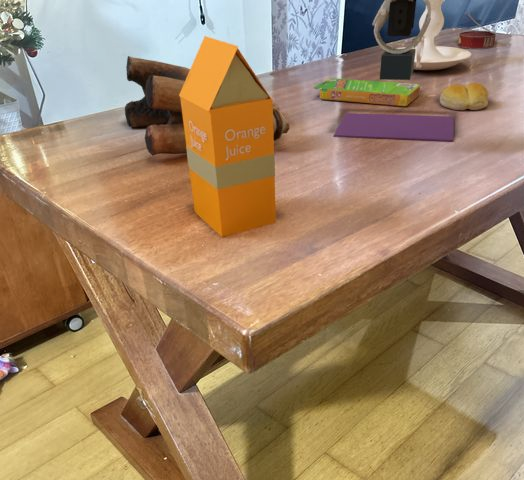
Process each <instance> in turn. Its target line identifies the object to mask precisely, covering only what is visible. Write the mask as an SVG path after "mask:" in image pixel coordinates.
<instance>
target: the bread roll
mask: <svg viewBox="0 0 524 480" xmlns="http://www.w3.org/2000/svg"><path fill="white" fill-rule="evenodd" d="M488 101H489V91H488V89H487V88H486V86H484V85H483V84H481V83H478V82H472V83H468V84H466V85H465V86H464V85H462V84H458V83H455V84H451V85H449V86H447V87H446V88H445V89H443V90H442V91H441V94H440V97H439V103H440V105H441V106H443V107H444V108H446V109H450V110H454V111H466V110H467V109H468V110H470V111H479V110H483V109H485V108H487V107H488V105H489V103H488Z"/></svg>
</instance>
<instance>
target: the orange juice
mask: <svg viewBox="0 0 524 480" xmlns="http://www.w3.org/2000/svg"><path fill="white" fill-rule="evenodd" d="M189 69H190V71H189V73H188V76H187V78H186V80H185V83H184V85H183V87H182V90H181V92H180V94H179V96H180V99H181V107H182V115H183V123H184V131H185V139H186V150H187V153H186V157H187V165H188V169H189V171H188V172H189V178H190V179H189V180H190V185H191V193H192V202H193V210H194V213H195V214H196V215H197V216H198V218H201V220H203V221H204V222H205V223H206V224H207V225H208V226H209V227H210V228H211V229H213V230H214V231H215V232H216V233H217V234H218V235H219V236H220V237H221V238H225V237H228V236H232V235H235V234H238V233H243V232H246V231H250V230H253V229H257V228H261V227H265V226H269V225H272V224H275V223H276V224H277V210H276V207H277V206H276V177H275V176H276V161H275V160H276V158H275V155H276V154H275V141H274V133H273V103H274V100H273V98H272V97H271V96H270V94H269V93H268V91H267V90H266V89H265V87H264V85H263V84H262V81H260V79H259V78H258V77H257V75H256V73H255V72H254V70H253V69H252V68H251V66H250V64H249V63H248V62H247V59H246V58H245V57H244V55H243V54H242V52H241V51H240V49H239V46H238V45H236V44H233V43H230V42H226V41H223V40H219V39H216V38H213V37H210V36H206V35H204V36H203V39H202V41H201V43H200V45H199V48H198V51H197V53H196V55H195V58H194V60H193V61H192V64H191V67H190V68H189Z"/></svg>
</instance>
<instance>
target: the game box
mask: <svg viewBox="0 0 524 480" xmlns="http://www.w3.org/2000/svg"><path fill="white" fill-rule="evenodd" d="M312 88H313V89H314V90H319V99H320V100H325V101H326V100H327V101H338V102H351V103H361V104H374V105H384V106H395V107H408V105H409V104H411V103H412V102H413V101H415V99H417V97H419V95H420V90H421V84H419V83H408V82H406V83H405V82H392V81H378V80H362V79H351V78H350V79H349V78H328V79H326V80H323V82H321V83H319V84H317V85H315V86H313V87H312Z"/></svg>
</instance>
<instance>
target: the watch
mask: <svg viewBox="0 0 524 480" xmlns="http://www.w3.org/2000/svg"><path fill="white" fill-rule="evenodd" d="M390 2H392V0H384V1H383V2H382V4H381V5H380V8H379V9H378V11H377V13H376V15H375V16H374V19H373V21H372V23H371V26H374V27H373V28H374V29H373V35H374V38H375V41H376V42H377V44H378V45H379V47H380V48H381V49H382V50H384V52H383V53H382V54H381V58H380V70H379V80H381V81H382V80H383V81H384V80H387V81H388V80H390V81H392V80H394V81H411V78H412V76H413V73H414V60H415V52H416V49H412V48H413V47H414V48H415V47H416V46H418V43H419V42H420V40H421V39H422V37H424V34H425V32H426V30H427V28H428V25H429V23H430V20H431V18H430V17H431V5H430V2H429V0H424V1H423V2H424V3H425V6H426V5H427V9H428V13H427V14H426V18H425V21H424V24H423V26H422V28H421V31H420V30H419V32H418V34H417V35H416V37H415V38H412V41H411V44H410V45H408V46H405V47H406V48H404V49H397V48H395V47H391V46H390V45H387V43H386V42H384V41H383V38H382V37H381V34H380V31H381V28H383V27H384V26H385V24H386V22H388V21H387V20H388V19H389V8H390Z"/></svg>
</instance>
